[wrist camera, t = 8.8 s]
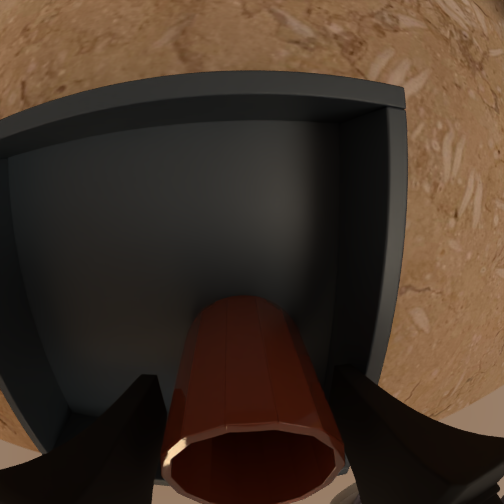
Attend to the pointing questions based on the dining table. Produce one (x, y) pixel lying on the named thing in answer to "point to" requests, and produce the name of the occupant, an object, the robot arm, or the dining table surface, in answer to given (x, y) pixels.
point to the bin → (193, 229)
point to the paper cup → (248, 411)
